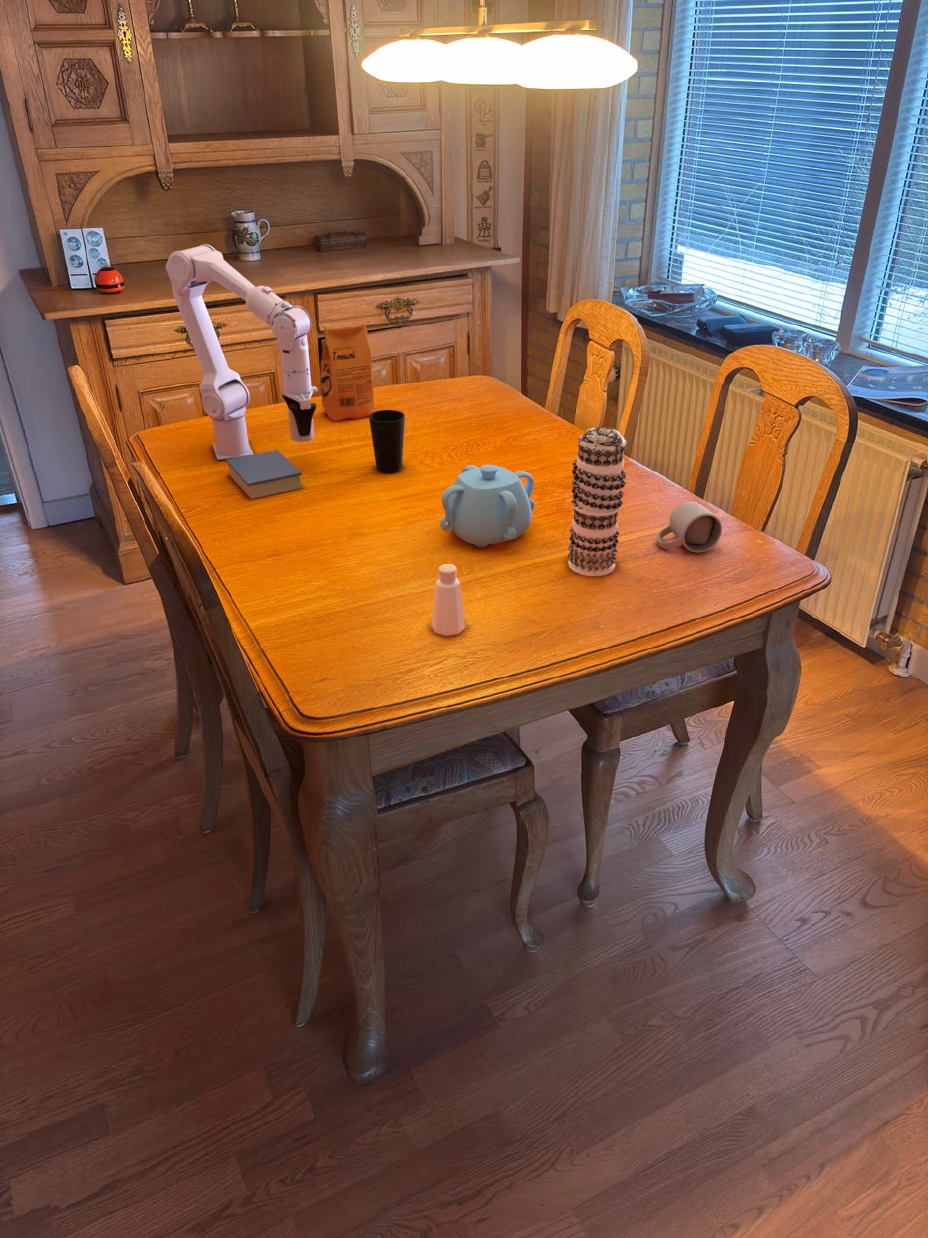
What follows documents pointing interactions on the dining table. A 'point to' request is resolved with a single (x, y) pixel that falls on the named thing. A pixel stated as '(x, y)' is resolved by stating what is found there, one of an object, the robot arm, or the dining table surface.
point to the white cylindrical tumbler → (294, 430)
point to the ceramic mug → (691, 528)
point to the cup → (387, 439)
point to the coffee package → (347, 373)
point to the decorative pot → (488, 505)
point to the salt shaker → (447, 603)
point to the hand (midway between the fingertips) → (302, 431)
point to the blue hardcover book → (264, 474)
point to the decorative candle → (596, 501)
